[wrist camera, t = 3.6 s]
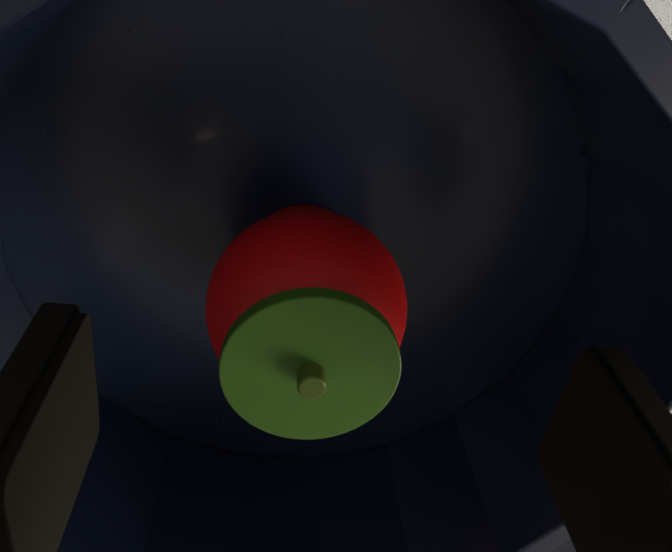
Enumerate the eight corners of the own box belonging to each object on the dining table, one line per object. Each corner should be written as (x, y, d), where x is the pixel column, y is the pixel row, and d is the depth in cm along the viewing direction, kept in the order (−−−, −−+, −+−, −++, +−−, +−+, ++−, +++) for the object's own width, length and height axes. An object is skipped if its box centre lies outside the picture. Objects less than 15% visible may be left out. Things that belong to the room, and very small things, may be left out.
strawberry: (213, 317, 18) (188, 467, 13) (220, 162, 16) (192, 277, 11) (373, 327, 19) (405, 475, 14) (403, 181, 16) (454, 297, 12)
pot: (28, 502, 22) (-48, 681, 17) (-120, -369, 11) (-478, -614, 6) (490, 515, 25) (544, 676, 19) (767, -193, 13) (1075, -255, 8)
